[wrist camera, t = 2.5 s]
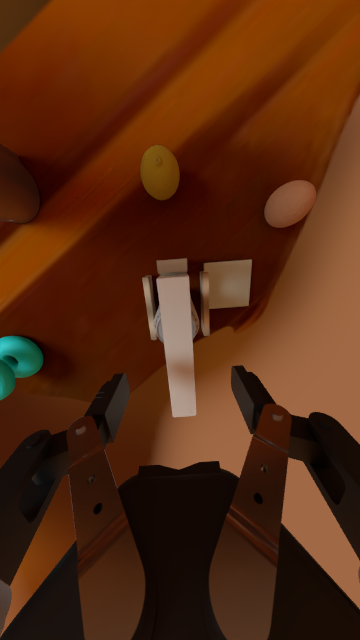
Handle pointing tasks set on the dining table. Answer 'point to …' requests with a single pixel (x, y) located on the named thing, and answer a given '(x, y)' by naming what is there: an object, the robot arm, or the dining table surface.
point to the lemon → (160, 172)
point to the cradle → (169, 269)
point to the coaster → (229, 283)
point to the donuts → (29, 361)
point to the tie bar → (178, 341)
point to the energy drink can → (193, 321)
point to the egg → (290, 203)
